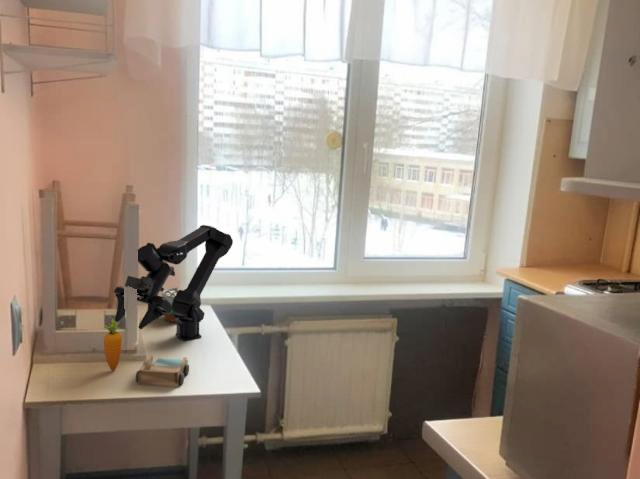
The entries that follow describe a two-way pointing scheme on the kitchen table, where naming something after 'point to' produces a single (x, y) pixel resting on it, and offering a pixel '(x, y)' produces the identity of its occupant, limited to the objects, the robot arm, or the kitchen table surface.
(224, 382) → the kitchen table surface
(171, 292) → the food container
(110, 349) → the carrot
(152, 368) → the cart
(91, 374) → the kitchen table surface
